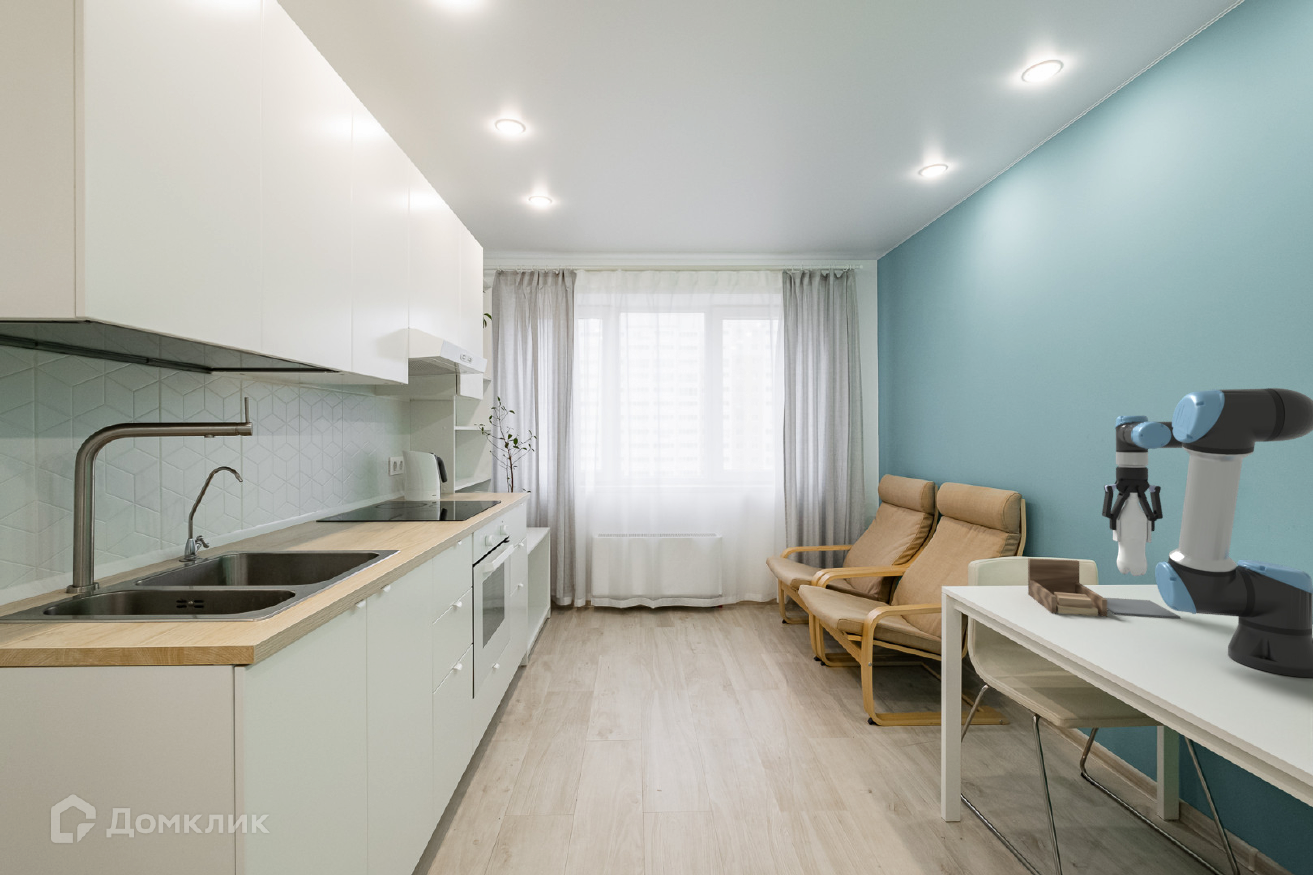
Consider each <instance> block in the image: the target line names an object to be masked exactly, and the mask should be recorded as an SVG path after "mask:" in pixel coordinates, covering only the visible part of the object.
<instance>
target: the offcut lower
mask: <svg viewBox="0 0 1313 875" xmlns="http://www.w3.org/2000/svg"><path fill="white" fill-rule="evenodd" d="M1057 613H1058V614H1064V615H1066V614H1067V615H1078V614H1082V615H1081V616H1092V615H1096V616H1095V617H1098V616H1099V614H1098V609H1097V608H1095V607H1094V606H1092V609H1089V608H1077V607H1066V606H1059V605H1058V604H1057V603H1056V614H1057Z"/></svg>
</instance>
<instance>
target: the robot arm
mask: <svg viewBox="0 0 1313 875" xmlns="http://www.w3.org/2000/svg"><path fill="white" fill-rule="evenodd" d="M1114 429H1115V465H1117V466H1116V467H1115V483H1114V484H1104V485H1103V490H1104V498H1103V504H1102V510H1101V516H1102V517H1104V518H1108V519H1109V529H1110V530H1111V531H1112V540H1113V541H1115V542H1120V520H1117V518H1118V516H1119V514H1120V511H1121V509H1122V507H1123V506H1124V504H1125V501H1126V500H1127V498H1128V497H1129V496H1130V493H1137V496H1138V499H1139V501H1138V502H1139V506H1140V507H1141V509H1142V510H1143V512H1144V514H1145V515H1146V517H1147V540H1146V543H1150V544H1151V543H1152V532H1154V531H1155V529H1156V527H1155V524H1156V522H1157V521H1158V520H1162V519H1163V517H1164V515H1163V509H1162V503H1161V496H1160V495H1161V494H1160V493H1161V490H1162V487H1161V486H1160V485H1153V484H1150V483H1149V468H1148V467H1146V466H1149V450H1150V449H1152V450H1155V449H1183V450H1184V451H1186V452H1187V454H1189V458H1188V467H1187V474H1186V475H1187V477H1186V484H1185V491H1184V499H1183V507H1182V508H1183V509H1182V514H1181V515H1182V517H1181V524H1180V525H1181V526H1180V533H1179V541H1178V547H1177V548H1175V549H1173V550H1171V551H1170V552H1169V553H1168V560H1167V561H1160V562H1158V563H1157V564H1156V566H1155V568H1154V569H1155V571H1154V572H1155V573H1154V575H1155V581H1156V582H1155V583H1156V586H1157V589H1158V592H1159V594H1160V597H1161V598H1162V600H1163V602H1164V603H1165V605H1167V607H1169V608H1170V609H1172V610H1173V611H1176V612H1181V613H1183V612H1184V613H1190V614H1192V615H1196V614H1198V615H1199V614H1201V615H1203V614H1204V615H1215V616H1228V617H1238V622H1237V623H1238V624H1237V627H1236V629H1235V630H1234V633H1233V635H1232V637H1231V639H1230V641H1229V643H1228V645H1227V655H1228V657H1229V658H1230V659H1231V660H1233V661H1235V662H1237V663H1239V664H1241V665H1244V666H1247V667H1250V668H1254V669H1256V670H1259V671H1264V672H1268V673H1273V674H1277V675H1284V676H1290V677H1297V678H1313V581H1312V577H1311V576H1310V574H1309V573H1308V572H1306V571H1303V570H1301V569H1297V568H1295V567H1291V566H1288V565H1283V564H1278V563H1273V562H1267V561H1262V560H1255V559H1239V560H1238V561H1237V563H1236V561H1234V560H1233V559H1232V558H1231V557H1230V555H1229V554H1230V548H1231V541H1232V536H1233V535H1232V534H1233V528H1234V520H1235V514H1236V506H1237V500H1238V499H1237V498H1238V495H1239V494H1238V492H1239V486H1240V478H1241V472H1242V466H1243V460H1244V458H1246V457H1248V456H1250V455H1252V454H1254V453H1255V452H1254V451H1255V445H1256V443H1260V442H1263V443H1265V442H1268V443H1269V442H1284V441H1290V440H1294V439H1299V438H1302V437H1304V436H1306V435H1308V434H1309V433H1311V432H1312V431H1313V399H1311V397H1309V396H1307V395H1306V394H1303V393H1301V392H1298V391H1297V390H1293V389H1288V388H1278V387H1271V388H1269V387H1268V388H1246V389H1245V388H1234V389H1227V388H1226V389H1215V388H1214V389H1210V390H1198V391H1192V392H1189V393H1187V394H1185V395H1184V396H1183V397H1182V398H1181V400H1179V401H1178V403H1177V404H1176V406H1175V408H1174V411H1173V415H1172V419H1171V421H1149V418H1148V417H1147V415H1118V417H1116V419H1115V426H1114ZM1115 490H1117V491H1118V493H1117V496H1116V500H1115V502H1114V504H1113V500H1114V492H1115ZM1147 491H1149V495H1150V502H1151V505H1150V504H1149V501H1148V497H1147V495H1146V493H1147ZM1112 505H1113V506H1112Z"/></svg>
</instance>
